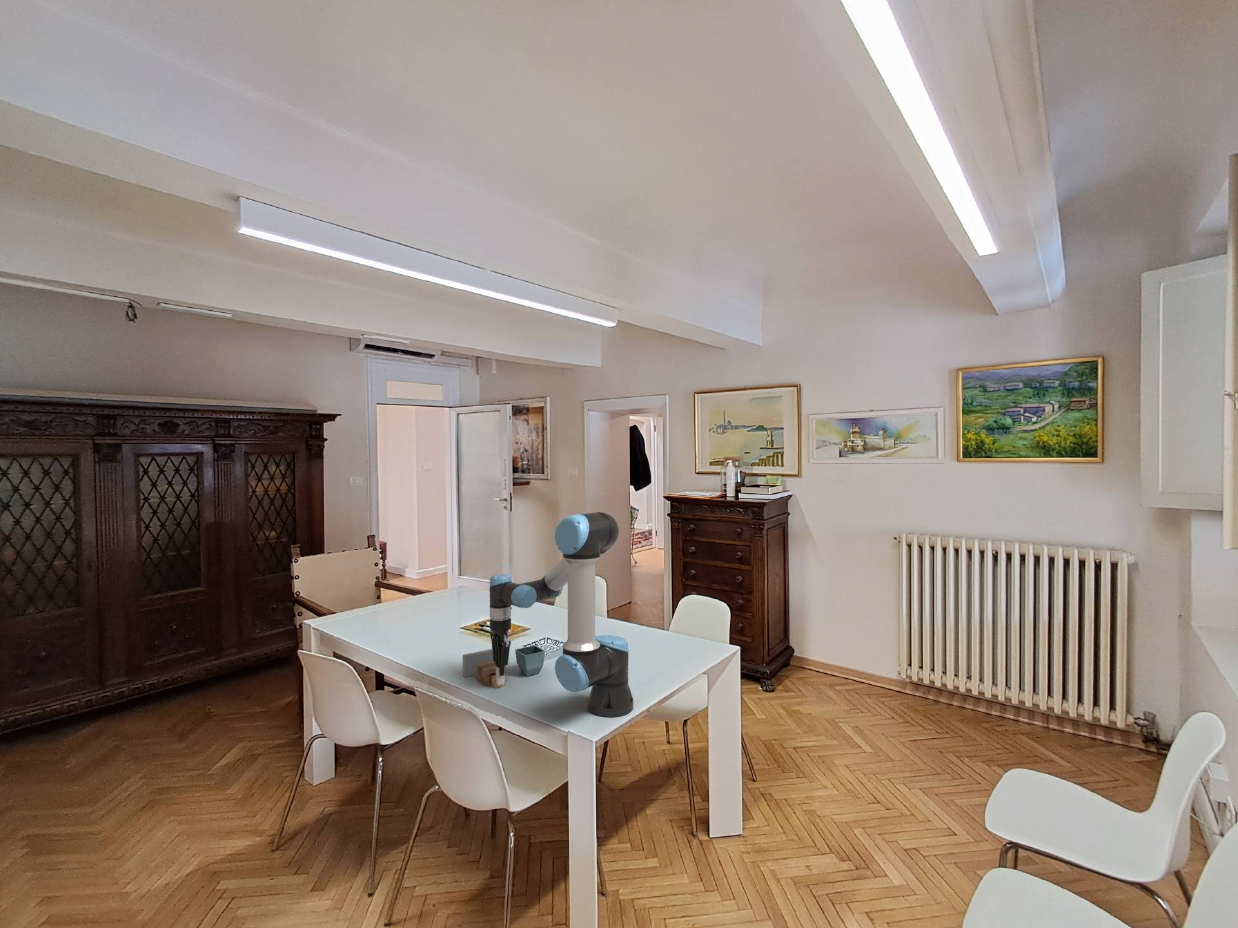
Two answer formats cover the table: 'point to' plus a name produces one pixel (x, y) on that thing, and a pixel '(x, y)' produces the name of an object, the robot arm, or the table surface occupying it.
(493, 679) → the dowel
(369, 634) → the table surface
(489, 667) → the block
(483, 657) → the wall
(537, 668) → the flower pot
